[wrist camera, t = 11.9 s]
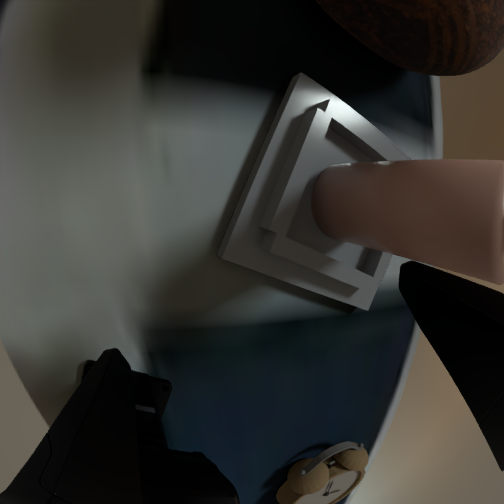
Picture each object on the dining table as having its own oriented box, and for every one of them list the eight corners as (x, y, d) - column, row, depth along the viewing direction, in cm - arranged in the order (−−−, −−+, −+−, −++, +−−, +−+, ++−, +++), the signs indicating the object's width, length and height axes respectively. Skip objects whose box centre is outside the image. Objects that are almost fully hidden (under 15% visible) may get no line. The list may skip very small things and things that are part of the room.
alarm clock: (281, 527, 27) (304, 488, 21) (266, 501, 31) (281, 452, 26) (351, 496, 31) (391, 444, 26) (335, 474, 35) (367, 417, 30)
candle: (373, 227, 23) (539, 264, 10) (319, 249, 22) (506, 314, 9) (362, 158, 22) (540, 156, 9) (303, 172, 20) (512, 170, 7)
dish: (359, 306, 26) (379, 316, 23) (216, 254, 20) (229, 264, 18) (408, 166, 25) (430, 165, 23) (292, 77, 20) (312, 65, 17)
